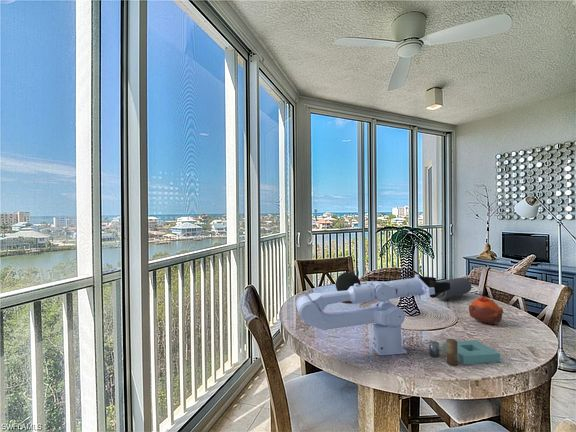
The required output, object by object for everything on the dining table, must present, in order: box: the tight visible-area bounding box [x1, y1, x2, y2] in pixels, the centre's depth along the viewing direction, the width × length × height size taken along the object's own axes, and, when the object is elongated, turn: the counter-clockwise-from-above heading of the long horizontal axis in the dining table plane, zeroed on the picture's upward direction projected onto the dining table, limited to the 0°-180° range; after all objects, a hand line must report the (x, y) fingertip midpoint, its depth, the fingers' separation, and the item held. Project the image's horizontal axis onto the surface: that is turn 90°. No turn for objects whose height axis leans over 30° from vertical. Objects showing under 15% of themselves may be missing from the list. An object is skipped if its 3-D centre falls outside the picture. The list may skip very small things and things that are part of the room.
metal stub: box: [428, 340, 440, 358], centre depth 98 cm, size 3×3×4 cm
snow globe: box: [335, 271, 362, 305], centre depth 161 cm, size 13×13×15 cm
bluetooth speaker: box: [436, 277, 472, 301], centre depth 161 cm, size 23×9×10 cm, turn 120°
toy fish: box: [468, 295, 504, 325], centre depth 124 cm, size 12×10×11 cm
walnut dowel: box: [445, 338, 459, 367], centre depth 92 cm, size 3×3×7 cm
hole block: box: [442, 339, 501, 365], centre depth 97 cm, size 12×10×2 cm
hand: (442, 283), depth 104 cm, fingers open, 7 cm apart
